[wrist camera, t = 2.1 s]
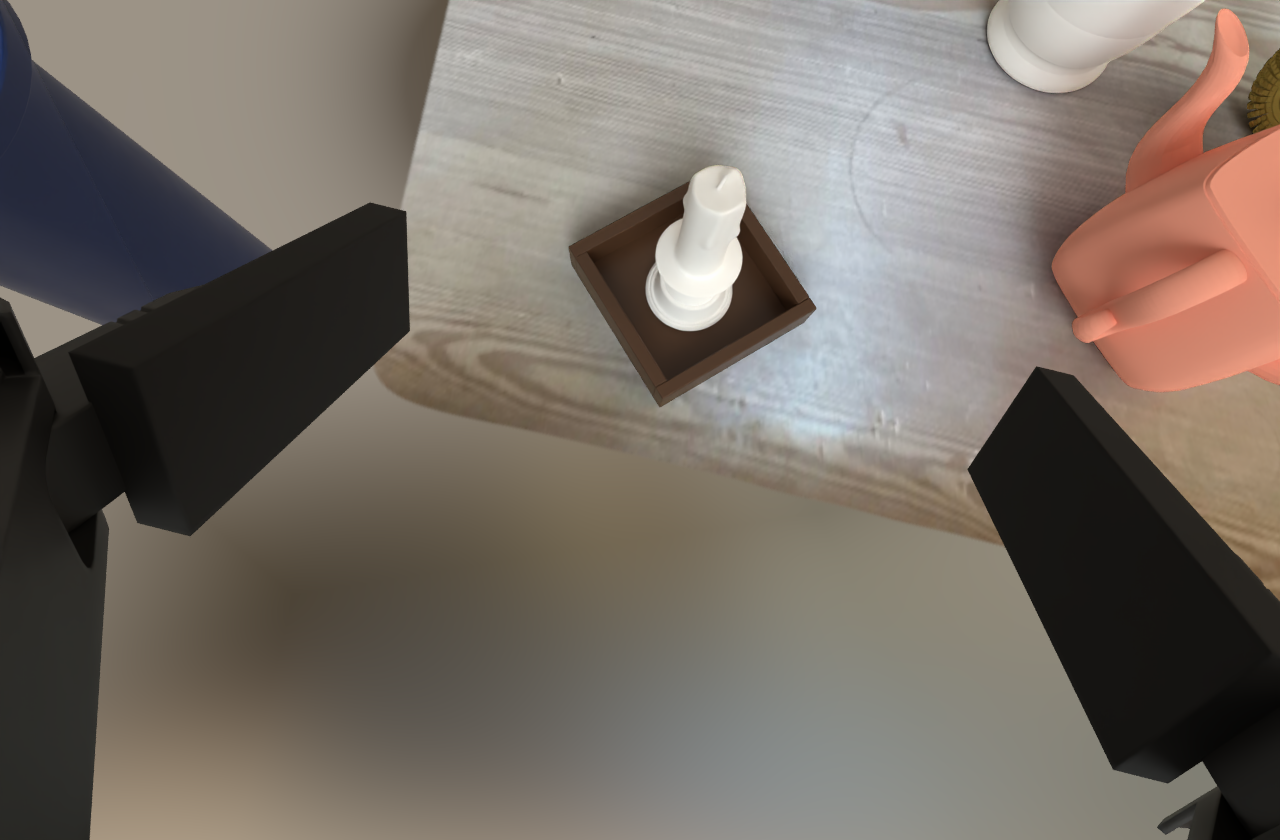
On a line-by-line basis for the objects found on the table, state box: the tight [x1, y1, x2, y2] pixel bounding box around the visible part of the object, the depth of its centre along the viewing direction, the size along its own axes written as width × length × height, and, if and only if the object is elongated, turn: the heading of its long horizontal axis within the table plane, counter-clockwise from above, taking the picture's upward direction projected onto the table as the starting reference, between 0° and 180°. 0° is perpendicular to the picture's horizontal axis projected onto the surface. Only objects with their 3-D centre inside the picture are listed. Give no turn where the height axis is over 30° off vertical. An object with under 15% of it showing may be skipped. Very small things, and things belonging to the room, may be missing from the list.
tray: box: [569, 181, 816, 407], centre depth 36 cm, size 11×11×2 cm
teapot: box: [1052, 9, 1280, 392], centre depth 32 cm, size 15×17×13 cm
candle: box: [645, 165, 746, 331], centre depth 31 cm, size 5×5×12 cm
